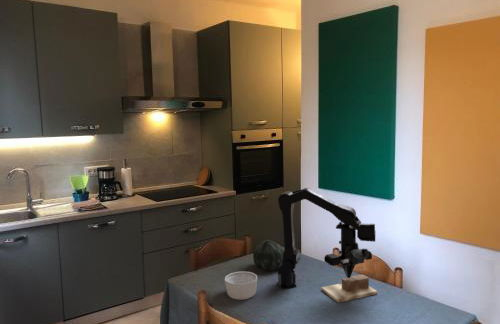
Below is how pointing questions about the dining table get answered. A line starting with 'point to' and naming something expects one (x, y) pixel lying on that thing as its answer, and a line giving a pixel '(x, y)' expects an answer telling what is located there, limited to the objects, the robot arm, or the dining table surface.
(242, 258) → the dining table surface
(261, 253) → the squash
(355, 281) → the walnut block
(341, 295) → the birch board
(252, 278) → the ramekin
